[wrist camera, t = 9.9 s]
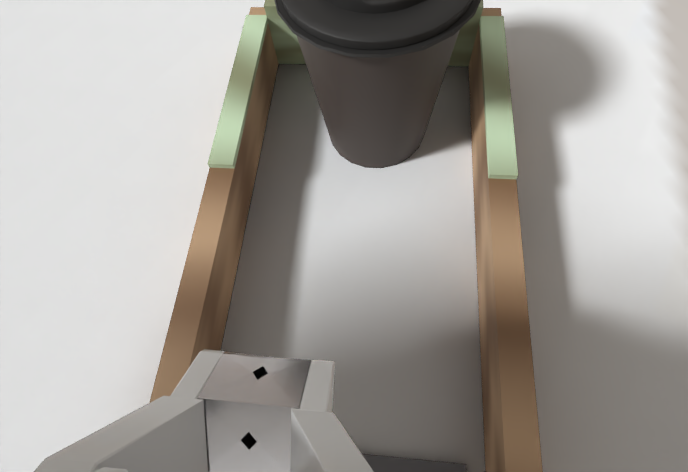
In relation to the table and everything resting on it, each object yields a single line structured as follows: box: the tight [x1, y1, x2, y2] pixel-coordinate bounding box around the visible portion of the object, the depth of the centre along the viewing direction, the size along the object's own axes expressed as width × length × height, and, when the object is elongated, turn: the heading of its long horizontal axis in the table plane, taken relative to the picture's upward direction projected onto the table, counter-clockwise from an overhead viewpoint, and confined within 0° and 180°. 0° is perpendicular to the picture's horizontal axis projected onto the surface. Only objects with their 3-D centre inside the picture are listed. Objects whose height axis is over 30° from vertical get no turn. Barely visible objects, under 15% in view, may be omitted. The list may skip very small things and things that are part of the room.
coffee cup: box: [275, 0, 481, 168], centre depth 20 cm, size 8×8×10 cm
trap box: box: [150, 0, 543, 472], centre depth 18 cm, size 36×14×4 cm, turn 175°
